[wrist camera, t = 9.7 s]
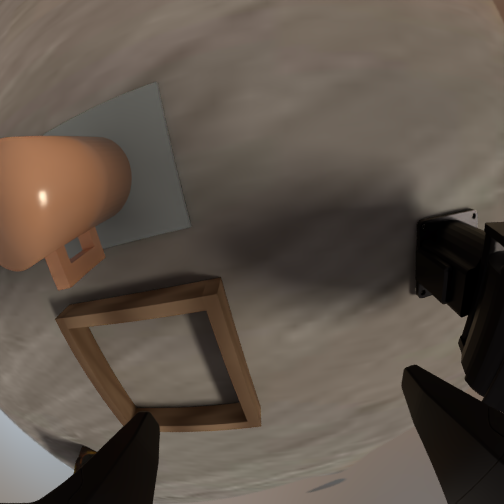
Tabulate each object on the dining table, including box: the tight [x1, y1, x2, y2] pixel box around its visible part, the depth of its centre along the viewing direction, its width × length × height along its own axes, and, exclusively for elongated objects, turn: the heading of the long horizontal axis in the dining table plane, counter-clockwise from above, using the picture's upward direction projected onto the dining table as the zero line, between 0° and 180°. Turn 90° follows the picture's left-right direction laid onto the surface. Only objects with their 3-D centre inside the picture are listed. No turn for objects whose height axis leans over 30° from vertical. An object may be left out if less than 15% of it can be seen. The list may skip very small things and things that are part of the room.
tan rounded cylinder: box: [0, 136, 132, 290], centre depth 13 cm, size 6×8×9 cm
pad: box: [42, 82, 192, 258], centre depth 17 cm, size 12×10×1 cm
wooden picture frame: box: [55, 277, 261, 432], centre depth 21 cm, size 14×14×2 cm
